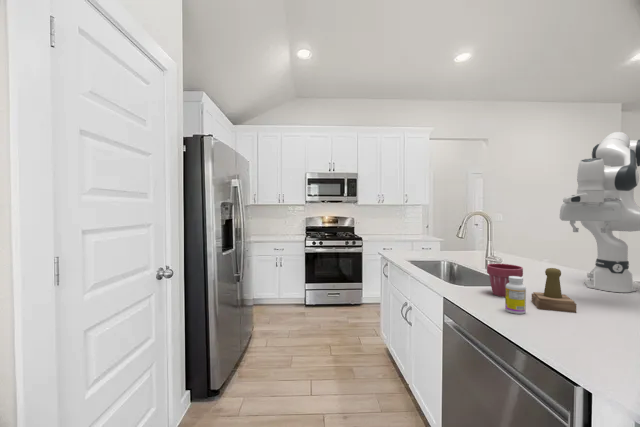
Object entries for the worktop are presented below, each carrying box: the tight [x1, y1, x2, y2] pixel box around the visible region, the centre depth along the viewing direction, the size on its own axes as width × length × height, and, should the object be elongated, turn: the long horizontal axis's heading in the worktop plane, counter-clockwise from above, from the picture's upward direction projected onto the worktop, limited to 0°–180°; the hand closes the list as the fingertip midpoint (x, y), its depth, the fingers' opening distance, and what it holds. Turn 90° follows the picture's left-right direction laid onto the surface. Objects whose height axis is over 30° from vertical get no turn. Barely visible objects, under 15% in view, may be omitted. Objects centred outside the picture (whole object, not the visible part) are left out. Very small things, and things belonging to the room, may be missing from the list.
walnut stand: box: [531, 291, 577, 314], centre depth 136 cm, size 12×12×4 cm
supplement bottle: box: [504, 276, 527, 315], centre depth 128 cm, size 7×7×13 cm
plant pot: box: [486, 263, 524, 298], centre depth 154 cm, size 14×14×13 cm
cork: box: [543, 267, 562, 298], centre depth 136 cm, size 6×6×11 cm
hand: (589, 232), depth 140 cm, fingers open, 8 cm apart
